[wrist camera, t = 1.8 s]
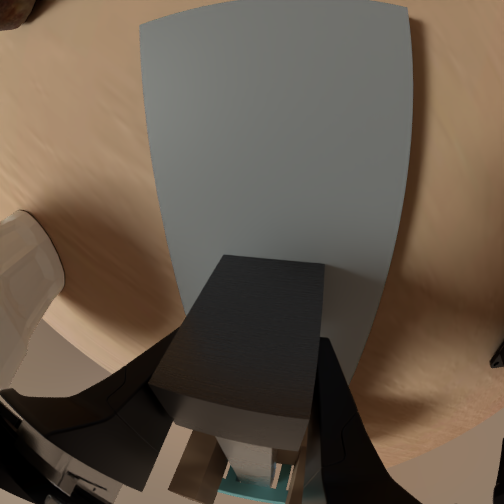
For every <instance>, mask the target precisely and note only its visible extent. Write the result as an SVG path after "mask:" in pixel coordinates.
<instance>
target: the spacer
mask: <svg viewBox="0 0 504 504" xmlns="http://www.w3.org/2000/svg"><path fill="white" fill-rule="evenodd" d="M291 466H292V465H287V464H282V467H281V471H280V475H279V479H278V483H277V487H276V489H273V488H267V487H261V486H256V485H251V484H246V483H241V482H240V480H239V478H238V477H237V475H236V473H235V471H234V470H233V468H232V466H231V465H230V468H229V471H228V474H227V477H226V479H224V478H222V481H221V483H220V486H219V489H218V492H220V493H224V494H228V495H232V496H236V497H241V498H245V499H250V500H255V501H261V502H267V503H273V504H285V502H286V498H287V494H288V490H286V487H287V483H288V479H289V475H290V471H291Z"/></svg>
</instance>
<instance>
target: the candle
mask: <svg viewBox="0 0 504 504" xmlns="http://www.w3.org/2000/svg"><path fill="white" fill-rule="evenodd" d="M35 2H36V0H0V31H2V30H12V29H16V28H18V27H19V26H20V25H21V24H22V23H23V22H24V21H25V20H26V18H27V16H28V15H29V14H30V12H31V11H32V8H33V6H34V3H35Z"/></svg>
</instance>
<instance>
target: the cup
mask: <svg viewBox="0 0 504 504" xmlns="http://www.w3.org/2000/svg"><path fill="white" fill-rule="evenodd" d="M63 287H64V270H63V267H62V264H61V262H60V259H59V256H58V254H57V252H56V250H55V248H54V246H53V244H52V242H51V240H50V238H49V236H48V235H47V234H46V232H45V231H44V229H43V228H42V227H41V225H40V224H39V223H38V222H37V221H36V220H35V219H34V218H33V217H32V216H31V215H30V214H28V213H27V212H25V211H20V210H18V211H16V212H15V213H13V214H12V215H10V216H9V217H7V218H6V219H4V220H3V221H1V222H0V389H1V390H3V389H8V388H9V386H10V384H11V382H12V380H13V378H14V376H15V374H16V372H17V370H18V369H19V367H20V365H21V363H22V361H23V359H24V358H25V356H26V354H27V348H28V344H29V340H30V337H31V335H32V334H33V332H34V330H35V328H36V327H37V325H38V323H39V322H40V320H41V318H42V317H43V315H44V313H45V312H46V310H47V309H48V307H49V306H50V304H51V302H52V301H53V300H54V298H55V297H56V296H57V295H58V294H59V293H60V292H61V290H62V289H63Z"/></svg>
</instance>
